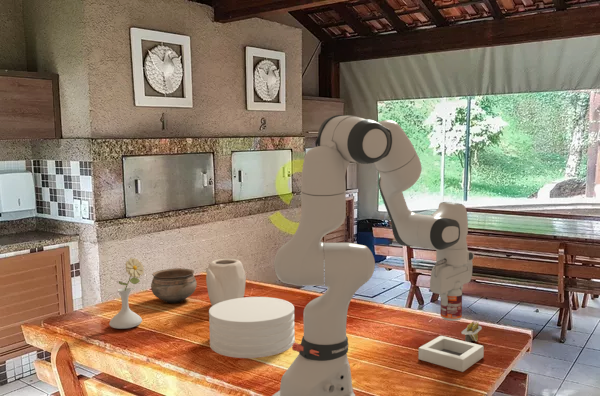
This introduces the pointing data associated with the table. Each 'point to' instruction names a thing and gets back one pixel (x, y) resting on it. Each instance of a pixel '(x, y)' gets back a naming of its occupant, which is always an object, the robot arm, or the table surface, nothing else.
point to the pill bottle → (453, 304)
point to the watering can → (225, 280)
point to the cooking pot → (173, 284)
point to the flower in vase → (127, 316)
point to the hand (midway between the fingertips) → (451, 302)
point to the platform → (472, 332)
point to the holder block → (451, 353)
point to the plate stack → (251, 327)
